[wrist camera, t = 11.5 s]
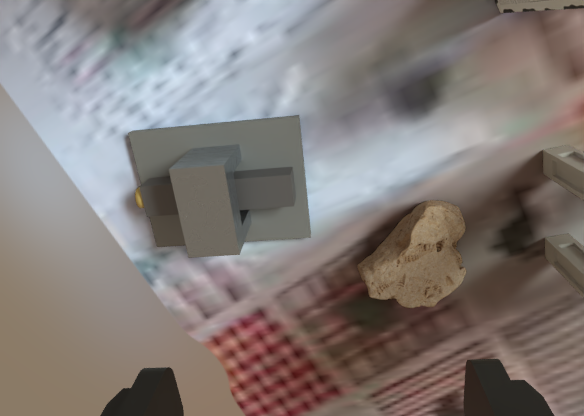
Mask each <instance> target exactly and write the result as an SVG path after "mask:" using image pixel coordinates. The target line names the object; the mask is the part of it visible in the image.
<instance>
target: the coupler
mask: <svg viewBox="0 0 584 416" xmlns="http://www.w3.org/2000/svg"><path fill="white" fill-rule="evenodd" d="M128 135H129V139H130V143H131V147H132V151H133V154H134V158H135V162H136V166H137V170H138V174H139V178H140V182H141V186H139V187H138V188H137V189H136V193H135V199H136V203H137V205H138V207H139V208H145V212H146V215H147V217H150V221H151V225H152V229H153V233H154V237H155V241H156V244H157V247H165V246H181V245H186V244H185V239H184V235H183V231H182V226H181V222H180V217H179V213H178V209H177V204H176V200H175V195H174V191H173V186H172V182H171V178H170V173H169V169H170V168H171V167H172V166H173V165H174V164H175V163H176V162H178V161H179V160H180V159H181V158H182V157H183V156H184V155H185V154H187V153H188V152H189V151H190V150H191V149H192V148H202V147H213V146H225V145H236V144H239V145H240V151H241V157H242V160H241V162H240V164H239V165H238V167H237V168H236V170H235V171H234V173H233V174H234V180H235V186H236V192H237V198H238V204H239V210H249V209H250V215H251V221H252V223H251V226H250V228H249V231H248V234H247V236H246V239H245V242H246V241H263V240H279V239H295V238H311V230H310V220H309V209H308V199H307V189H306V179H305V169H304V159H303V149H302V139H301V128H300V118H299V115H297V116H286V117H275V118H264V119H254V120H243V121H232V122H222V123H211V124H200V125H189V126H179V127H168V128H157V129H146V130H136V131H131V132H129V133H128Z"/></svg>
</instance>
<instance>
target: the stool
mask: <svg viewBox="0 0 584 416" xmlns="http://www.w3.org/2000/svg"><path fill="white" fill-rule="evenodd" d="M543 174H544V175H546V176H547V177H549V178H551V179H552V180H554V181H555V182H557V183H558V184H560V185H561V186H563V187H564V188H566V189H567V190H569V191H570V192H572V193H573V194H575V195H576V196H578V197H579V198H581V199H582V200H584V152H583V151H580V150H578V149H576V148H574V147H572V146H570V145H565V146H560V147H555V148H550V149H545V150H543ZM545 258H546V259H547V260H548V261H549V262H550V263H551V264H552V265H553V266H554V268H555V269H556V270H557V271H558V272H559V273H560V274H561V275H562V276H563V277H564V278H565V279H566V280H567V281H568V282H569V283H570V284H571V285H572V286H573V287H574V288H575V289H576V290H577V292H578V293H579V294H580V295H581V296H582V297H583V298H584V246H583V245H581V244H580V243H579V242H578V241H577V240H576V239H574V238H573V237H572V236H571V235H570V234H563V235H557V236H551V237H545Z"/></svg>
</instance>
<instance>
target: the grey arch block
mask: <svg viewBox="0 0 584 416" xmlns="http://www.w3.org/2000/svg"><path fill="white" fill-rule="evenodd" d="M241 160H242V157H241V151H240V145H239V144H236V145H225V146H213V147H202V148H192V149H191V150H190V151H189V152H188V153H187V154H185V155H184V156H183V157H182V158H181V159H180V160H179V161H178V162H176V163H175V164H174V165H173V166H172V167H171V168H170V169H169V173H170V178H171V182H172V186H173V191H174V195H175V200H176V204H177V209H178V213H179V217H180V222H181V226H182V231H183V235H184V239H185V244H186V248H187V253H188V257H189V258H190V257H207V256H224V255H240V252H241V249H242V247H243V244H244V242H245V239H246V236H247V234H248V231H249V228H250V226H251V223H252V221H251V215H250V209H249V210H239V204H238V198H237V192H236V186H235V180H234V174H233V173H234V171H235V170H236V168H237V167H238V165H239V164H240V162H241Z"/></svg>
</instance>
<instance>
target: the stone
mask: <svg viewBox="0 0 584 416" xmlns="http://www.w3.org/2000/svg"><path fill="white" fill-rule="evenodd" d="M465 230H466V227H465V221H464V219H463V216H462V214H461V212H460V209H459V208H458V207H457V206H456V205H453V204H450V203H448V202H444V201H434V200H430V201H425V202H423V203H421V204H419V205H418V206H417V207H415V209H414V210H413V211H412V212H411V213H410V214H408V215H406V216H405V217H404V218H403V219H402V220H401V221H400V222H399V223H398V225H397V226H396V227H395V228H394V230H393V231H392V232H391V233H390V234H389V236H388V237H387V238H386V239H385V241H384V242H382V243H381V244H380V245H379V246H378V248H377V249H376V251H375V252H374V253H372V254H371V255H370V256H368V257H366V258H365V259H364V260H363V261H362V262H361V263H359V264H358V271H359V273H360V276H361V278H362V280H363V281H364V282H365V284H366V285H367V288H368V294H369V297H371V298H376V299H382V300H386V299H392V298H393V299H396V300H397V301H398V303H399V304H400V305H401V306H404V307H406V308H415V307H420V305H422V306H426V307H434V306H435V305H436V304H437V302H438V301H439V300H441V299H442V298H444V297H446V296H448V295H449V294H450V293H451V292H453V291H454V290H455V289H456V288H457V287H458V286H460V284H461V283H462V282H463V279H464V276H465V275H466V272H467V271H466V269H465V268H464V267H461V263H462V258H461V254H460V253H459V252H458V251H457V249H456V247H457V246H456V245H457V241H458V240H459V239H460V238H461V237H462V236H463V234H464V232H465Z"/></svg>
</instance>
